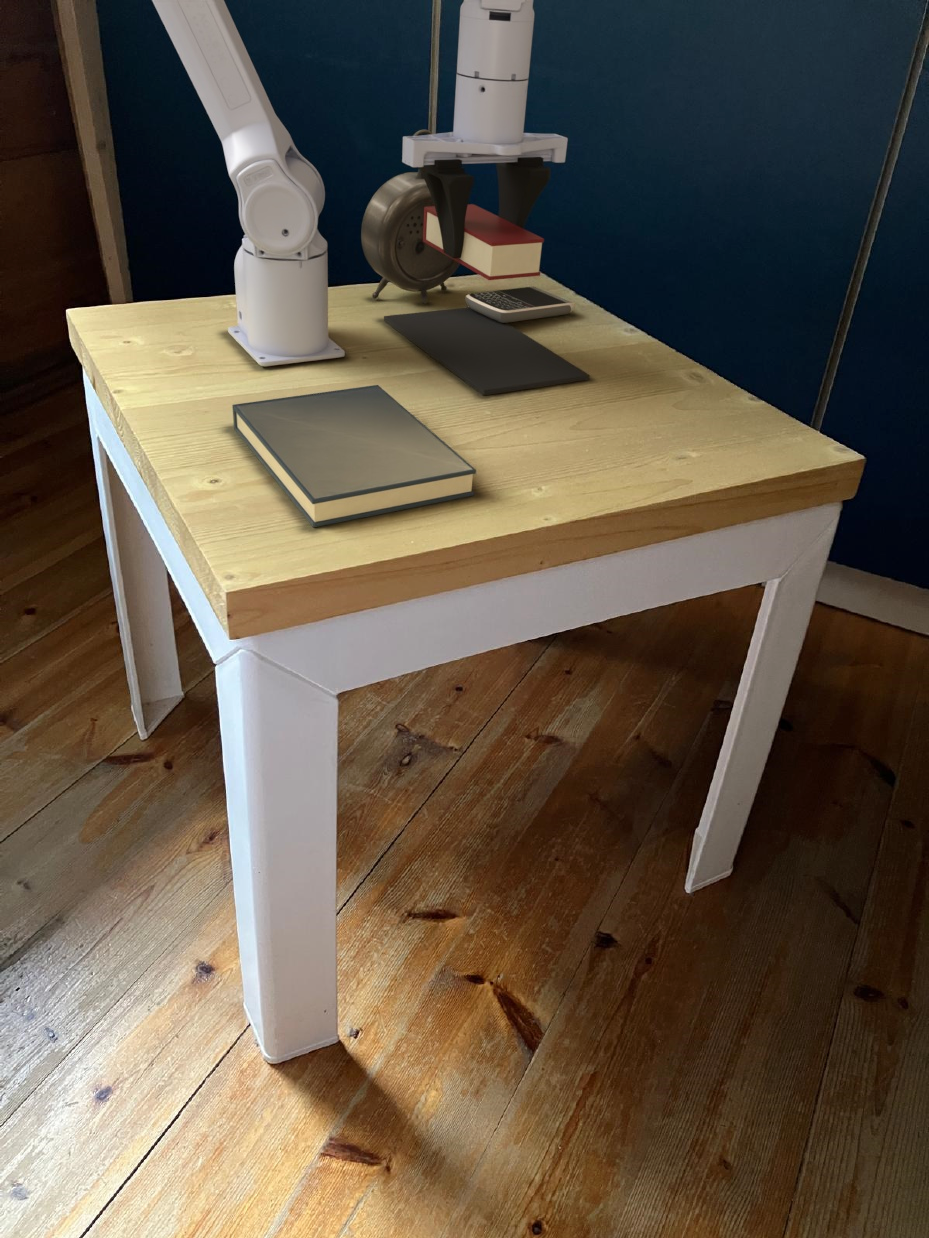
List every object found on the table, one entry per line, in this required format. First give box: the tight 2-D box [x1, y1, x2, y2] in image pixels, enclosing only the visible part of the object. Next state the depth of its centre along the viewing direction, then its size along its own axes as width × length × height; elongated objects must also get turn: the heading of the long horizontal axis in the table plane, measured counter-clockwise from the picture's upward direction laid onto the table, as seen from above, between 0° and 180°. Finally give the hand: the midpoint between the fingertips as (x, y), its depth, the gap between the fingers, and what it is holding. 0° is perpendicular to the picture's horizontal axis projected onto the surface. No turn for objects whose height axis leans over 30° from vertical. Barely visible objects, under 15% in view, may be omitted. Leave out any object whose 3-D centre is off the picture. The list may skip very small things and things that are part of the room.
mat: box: [383, 306, 590, 396], centre depth 93 cm, size 20×11×1 cm, turn 29°
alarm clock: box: [360, 129, 461, 304], centre depth 99 cm, size 11×5×16 cm, turn 123°
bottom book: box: [231, 384, 477, 528], centre depth 71 cm, size 16×12×2 cm
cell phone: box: [465, 286, 576, 324], centre depth 101 cm, size 6×11×1 cm, turn 130°
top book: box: [423, 203, 545, 281], centre depth 85 cm, size 12×5×3 cm, turn 29°
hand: (479, 253), depth 85 cm, fingers closed on top book, 5 cm apart
